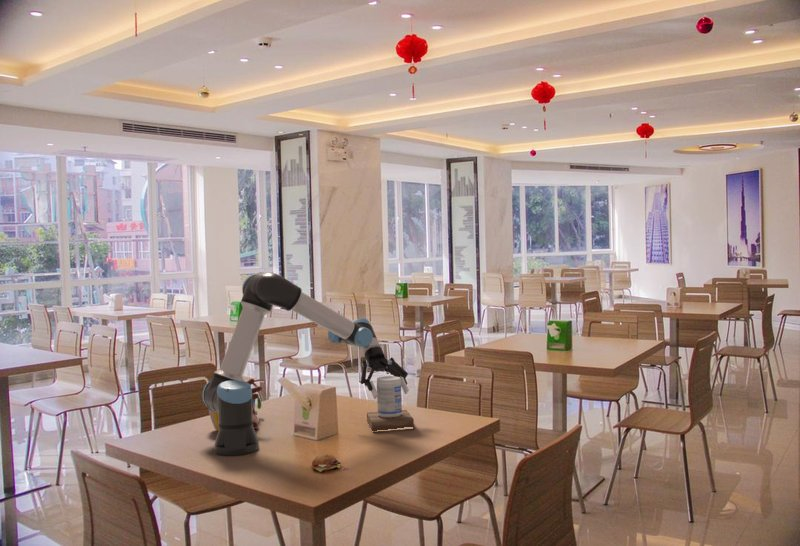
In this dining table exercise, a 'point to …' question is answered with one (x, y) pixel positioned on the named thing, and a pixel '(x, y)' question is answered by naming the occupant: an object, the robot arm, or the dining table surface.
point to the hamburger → (326, 463)
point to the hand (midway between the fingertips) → (391, 394)
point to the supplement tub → (389, 396)
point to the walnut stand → (389, 421)
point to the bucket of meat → (255, 419)
